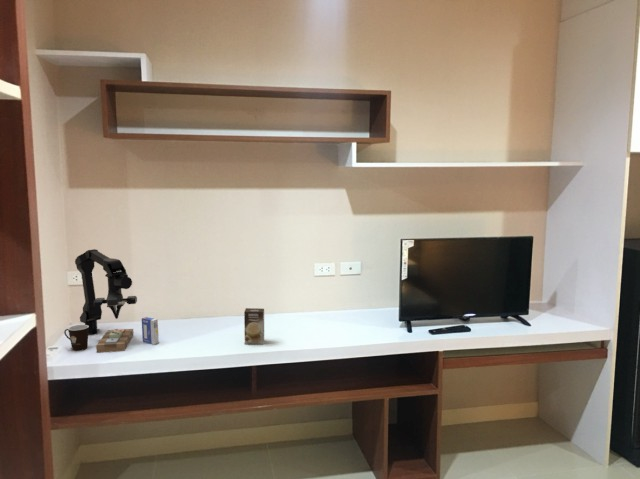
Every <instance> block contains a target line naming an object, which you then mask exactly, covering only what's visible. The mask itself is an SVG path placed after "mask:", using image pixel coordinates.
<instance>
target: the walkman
mask: <svg viewBox="0 0 640 479" xmlns="http://www.w3.org/2000/svg"><path fill="white" fill-rule="evenodd" d="M141 330H142V331H141V332H142V335H141V336H142V342H143V343H145V344H149V345H150V344H151V345H156V344H159V342H160V340H159V339H160V338H159V322H158V318H154V317H153V318H152V317H148V316H146V317H142V318H141Z"/></svg>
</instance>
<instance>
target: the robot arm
mask: <svg viewBox="0 0 640 479" xmlns="http://www.w3.org/2000/svg"><path fill="white" fill-rule="evenodd" d="M74 263H75V266H76V269H77V271H79V273H80V274H81V280H82V281H81V282H82V288H83V296H84V304H83V307H82V313H81V315H80V317H79V320H80V321H79V322H80V323H83V324H84V325H88V326H89V330H88V335H97V334H98V333H99V331H100V329H99V328H98V320H99V321H100V320H102V316H103V314H102V313H103V310H102V305H104V304H106V307H107V308H109V309H110V310H111V311H112V314H113V316H114V318H115V319H116V320H117V319H119V316H120V312H121V310H122V307H124V305H125V304H127V305H135V304H137V302H138V297H137V295H129V296H127V297H125V298H124V295H123V293H122V289H123V290H128V289H130V288H131V287H132V285H133V280H132V279H131V277H130V276H128V273H127V270H126V268H125V267H124V264H123V262H122V261H121V260H120V259H117V258H112V257H108V256H107V255H105V254H103V253H102V252H100V251H99V250H98V249H95V248H93V249H89V250H86V251H85V252H83V253H82V254H80V255H78V256H76V258H75V260H74ZM95 263H97V265H100V266H102V270H103V271H104V272H106V274H105V277H107V288H108V289H107V290H108V292H107V297H106V298H105V297H97V298H96V292H95V284H94V277H93V271H94V269H95Z"/></svg>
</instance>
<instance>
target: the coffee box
mask: <svg viewBox="0 0 640 479" xmlns="http://www.w3.org/2000/svg"><path fill="white" fill-rule="evenodd" d="M243 316H244V318H243V319H244V324H243V325H244V345H252V346H253V345H254V346H255V345H260V346H261V345H262V346H263V345H264V343H265V308H259V307H258V308H254V307H253V308H249V307H247V308H245V310H244V313H243Z"/></svg>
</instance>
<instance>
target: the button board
mask: <svg viewBox="0 0 640 479" xmlns="http://www.w3.org/2000/svg"><path fill="white" fill-rule="evenodd" d="M124 329H125V332H124V333H122V336H121V338H119V341H118V343H107V344H106V341H107V339H109V334H110V333H111V332H113V331H114V329H107V331H106V332H105V333H104V334H103V336H102V337H101V338H100V340H99V341H98V342H97V343H96V345H95V346H96V353H111V352H113V353H114V352H116V353H117V352H125V351H126V350H127V348H128V346H129V344H130V343H131V341H132V339H133V338H134V334H135V333H134V328H124Z"/></svg>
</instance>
